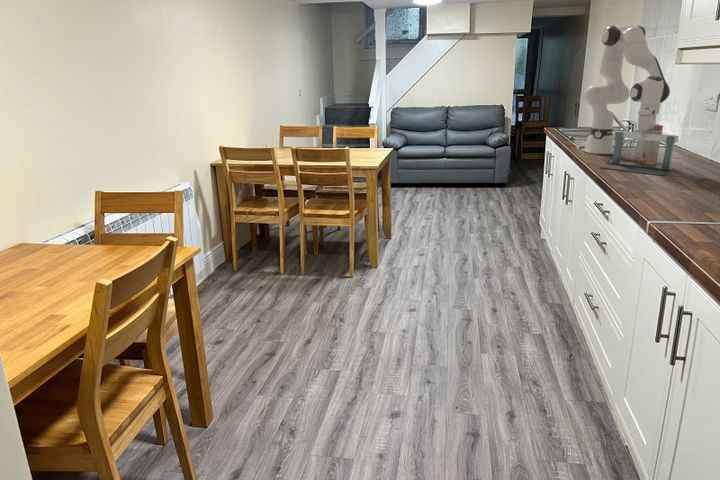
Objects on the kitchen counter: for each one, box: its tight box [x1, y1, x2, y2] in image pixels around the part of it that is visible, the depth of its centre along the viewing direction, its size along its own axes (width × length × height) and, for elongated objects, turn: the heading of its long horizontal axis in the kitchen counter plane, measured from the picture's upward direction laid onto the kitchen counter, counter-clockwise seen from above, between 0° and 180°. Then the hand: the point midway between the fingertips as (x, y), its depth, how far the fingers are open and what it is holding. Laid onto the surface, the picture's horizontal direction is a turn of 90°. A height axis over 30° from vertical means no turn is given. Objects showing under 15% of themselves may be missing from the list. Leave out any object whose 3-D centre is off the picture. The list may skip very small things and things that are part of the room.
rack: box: [606, 132, 676, 173], centre depth 280 cm, size 8×30×17 cm, turn 50°
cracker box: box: [633, 123, 664, 165], centre depth 290 cm, size 14×6×21 cm, turn 179°
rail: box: [612, 130, 680, 144], centre depth 278 cm, size 3×30×3 cm, turn 50°
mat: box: [599, 163, 670, 177], centre depth 274 cm, size 10×30×1 cm, turn 50°
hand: (644, 138), depth 278 cm, fingers closed on rail, 3 cm apart
